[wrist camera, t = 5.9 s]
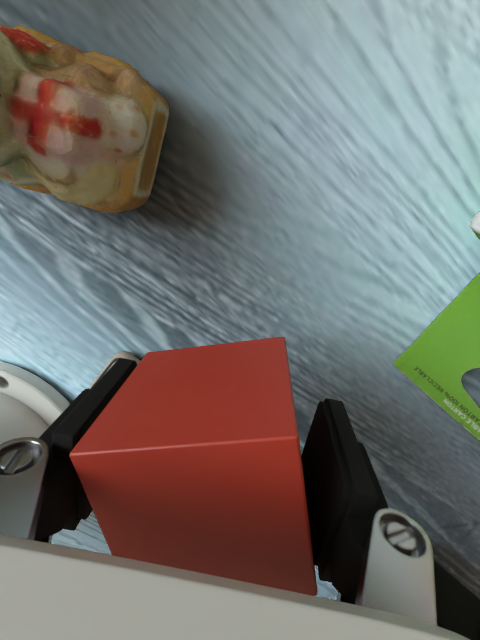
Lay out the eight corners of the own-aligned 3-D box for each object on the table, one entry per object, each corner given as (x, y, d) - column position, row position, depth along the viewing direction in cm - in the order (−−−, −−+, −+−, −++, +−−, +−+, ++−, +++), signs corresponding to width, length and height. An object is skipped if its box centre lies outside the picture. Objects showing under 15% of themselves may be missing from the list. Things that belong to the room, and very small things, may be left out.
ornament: (184, 76, 14) (2, -146, 5) (167, 220, 16) (24, 259, 7) (9, 37, 14) (-496, -251, 5) (18, 185, 16) (-312, 178, 7)
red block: (177, 459, 13) (129, 600, 9) (146, 351, 12) (66, 454, 7) (298, 450, 13) (318, 596, 8) (284, 335, 11) (298, 436, 6)
